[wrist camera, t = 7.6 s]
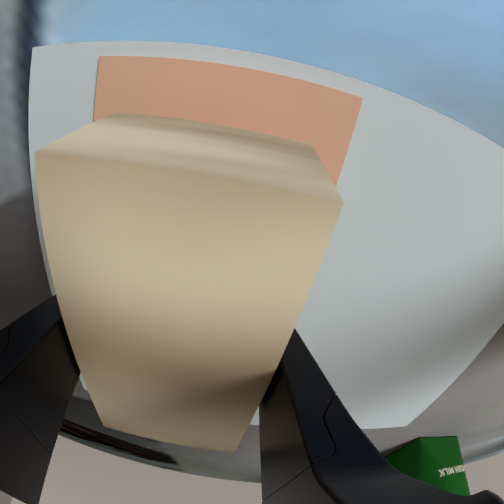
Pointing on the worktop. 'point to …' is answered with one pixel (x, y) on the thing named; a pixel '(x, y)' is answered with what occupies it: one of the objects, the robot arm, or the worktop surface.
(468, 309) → the mat
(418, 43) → the worktop surface
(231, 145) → the beige wooden block
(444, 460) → the milk carton
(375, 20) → the worktop surface
